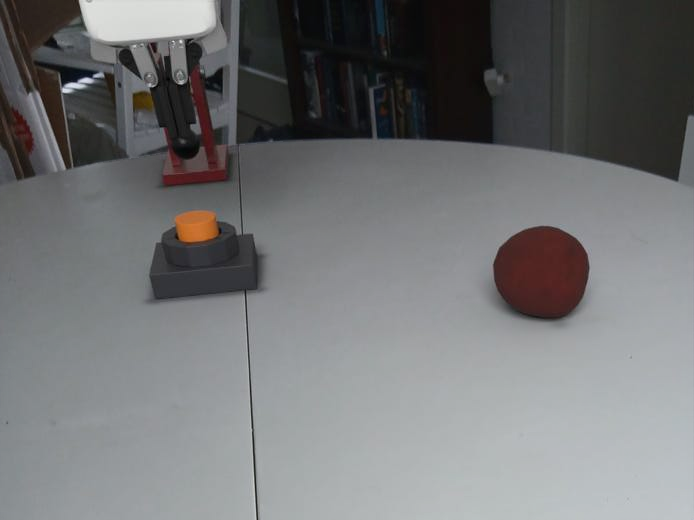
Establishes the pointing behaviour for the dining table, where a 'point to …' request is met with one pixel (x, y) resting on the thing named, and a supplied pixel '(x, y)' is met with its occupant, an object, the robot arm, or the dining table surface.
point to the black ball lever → (179, 146)
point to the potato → (542, 271)
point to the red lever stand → (210, 157)
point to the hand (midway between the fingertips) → (180, 134)
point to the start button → (196, 226)
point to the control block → (204, 264)
